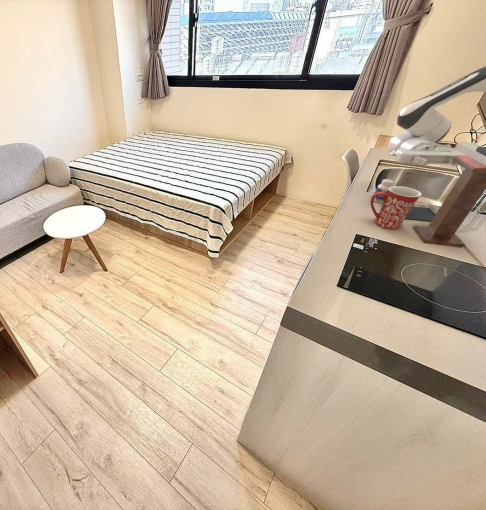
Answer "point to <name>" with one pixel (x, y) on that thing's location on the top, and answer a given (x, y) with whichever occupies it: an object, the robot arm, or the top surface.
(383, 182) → the pill bottle
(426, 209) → the mat
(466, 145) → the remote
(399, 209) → the mug
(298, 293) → the top surface
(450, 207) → the shelf stand
